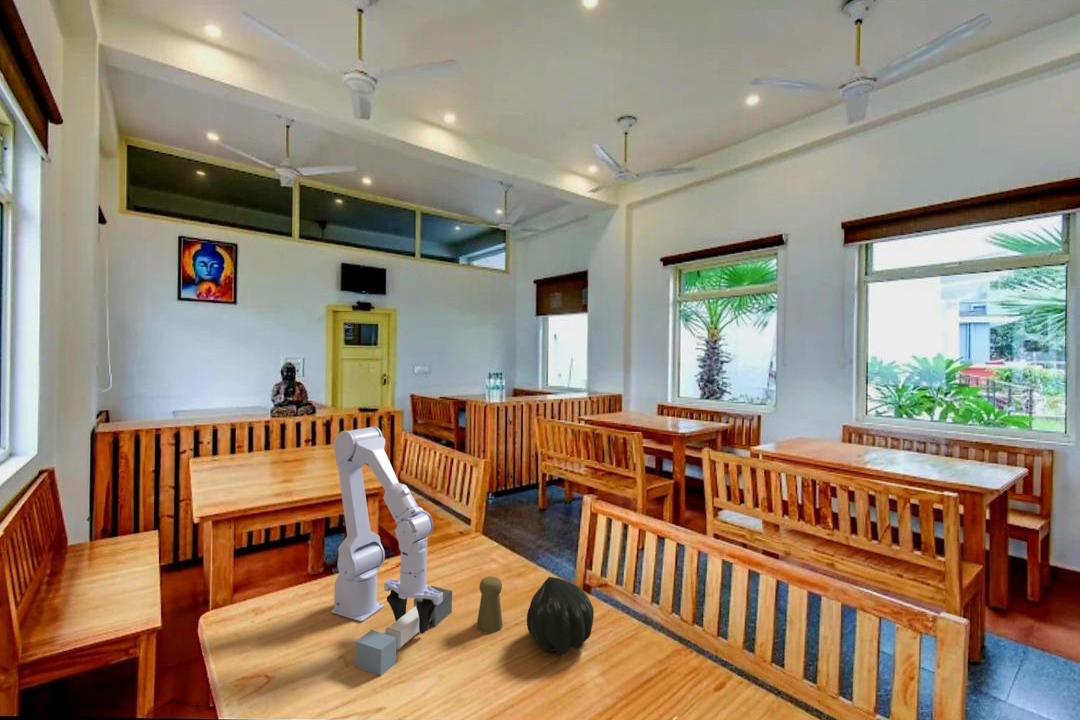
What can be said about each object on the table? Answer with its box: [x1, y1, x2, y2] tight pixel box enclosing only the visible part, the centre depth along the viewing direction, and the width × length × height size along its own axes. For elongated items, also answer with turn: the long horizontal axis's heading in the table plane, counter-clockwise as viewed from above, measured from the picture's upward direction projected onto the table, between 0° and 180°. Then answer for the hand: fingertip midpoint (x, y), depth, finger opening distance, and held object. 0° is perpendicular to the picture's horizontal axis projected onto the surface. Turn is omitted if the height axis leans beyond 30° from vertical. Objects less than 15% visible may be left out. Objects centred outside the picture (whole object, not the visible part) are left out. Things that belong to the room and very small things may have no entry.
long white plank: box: [384, 602, 432, 650], centre depth 113 cm, size 4×19×4 cm, turn 157°
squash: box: [526, 576, 595, 655], centre depth 110 cm, size 14×15×15 cm
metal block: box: [413, 585, 453, 627], centre depth 119 cm, size 6×7×5 cm
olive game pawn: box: [476, 575, 504, 634], centre depth 115 cm, size 6×6×11 cm
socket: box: [355, 629, 397, 677], centre depth 100 cm, size 6×4×5 cm
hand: (412, 627), depth 111 cm, fingers open, 6 cm apart
